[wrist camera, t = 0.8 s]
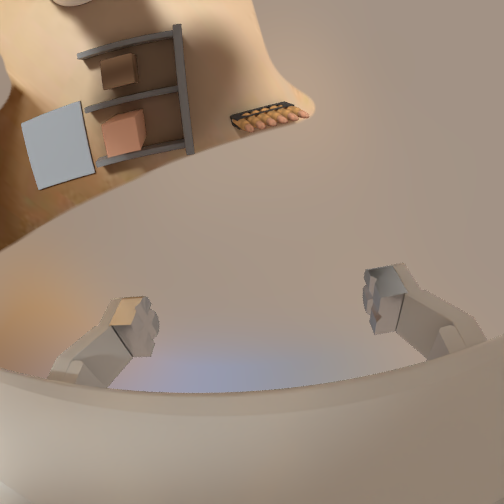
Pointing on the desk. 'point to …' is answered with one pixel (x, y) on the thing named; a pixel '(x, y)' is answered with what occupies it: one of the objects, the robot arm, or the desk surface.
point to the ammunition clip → (267, 116)
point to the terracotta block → (124, 133)
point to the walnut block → (119, 71)
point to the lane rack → (151, 94)
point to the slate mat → (58, 146)
